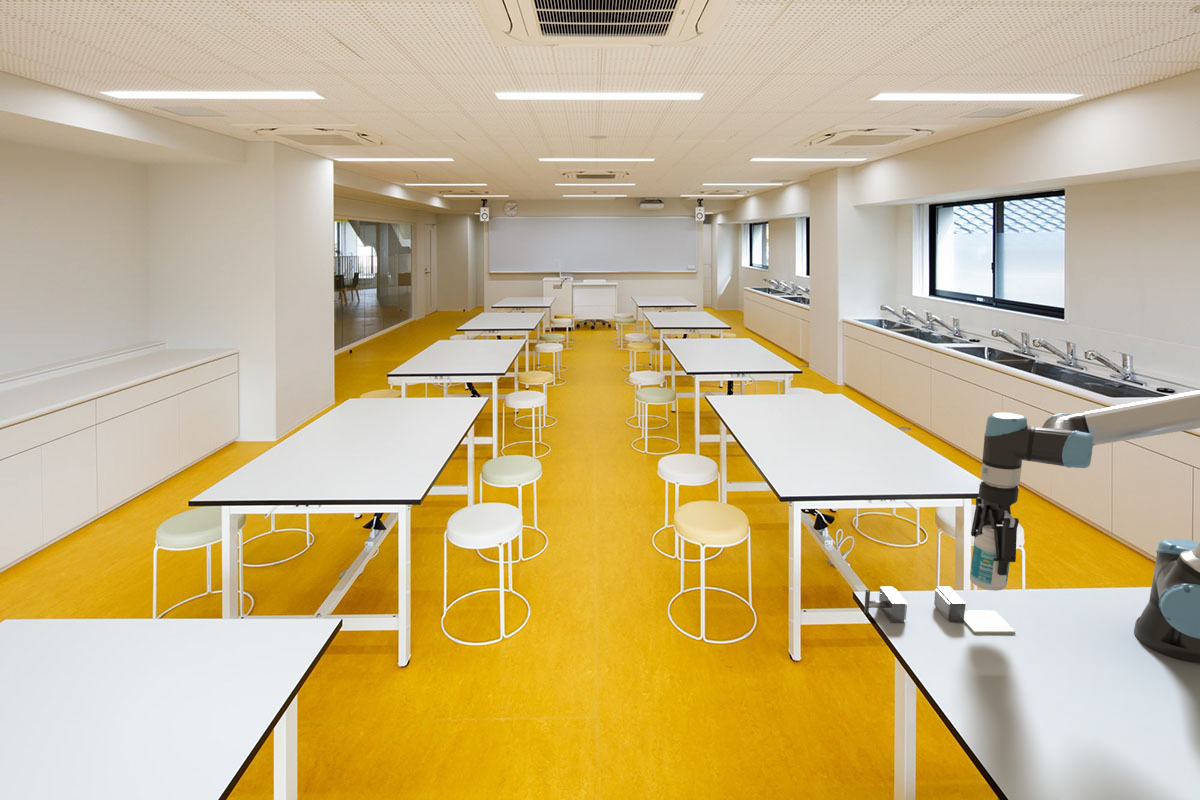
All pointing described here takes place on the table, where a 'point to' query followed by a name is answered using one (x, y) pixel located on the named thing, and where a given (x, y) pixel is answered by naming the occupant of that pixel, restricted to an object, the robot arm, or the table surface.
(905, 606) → the vise
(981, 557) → the pill bottle
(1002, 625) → the pad
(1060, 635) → the table surface
